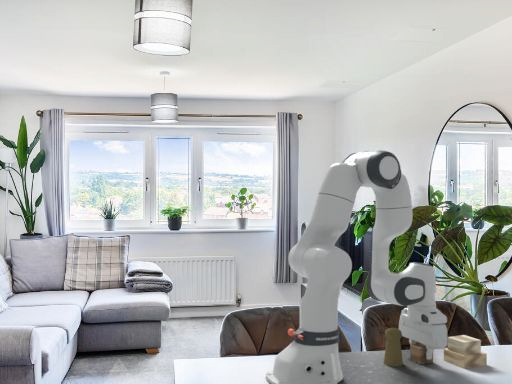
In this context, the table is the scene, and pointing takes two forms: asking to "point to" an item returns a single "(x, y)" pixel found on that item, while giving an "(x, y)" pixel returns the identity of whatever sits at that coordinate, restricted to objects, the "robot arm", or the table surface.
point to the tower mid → (464, 345)
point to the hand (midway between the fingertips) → (421, 356)
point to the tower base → (465, 359)
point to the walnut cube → (419, 353)
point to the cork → (393, 348)
